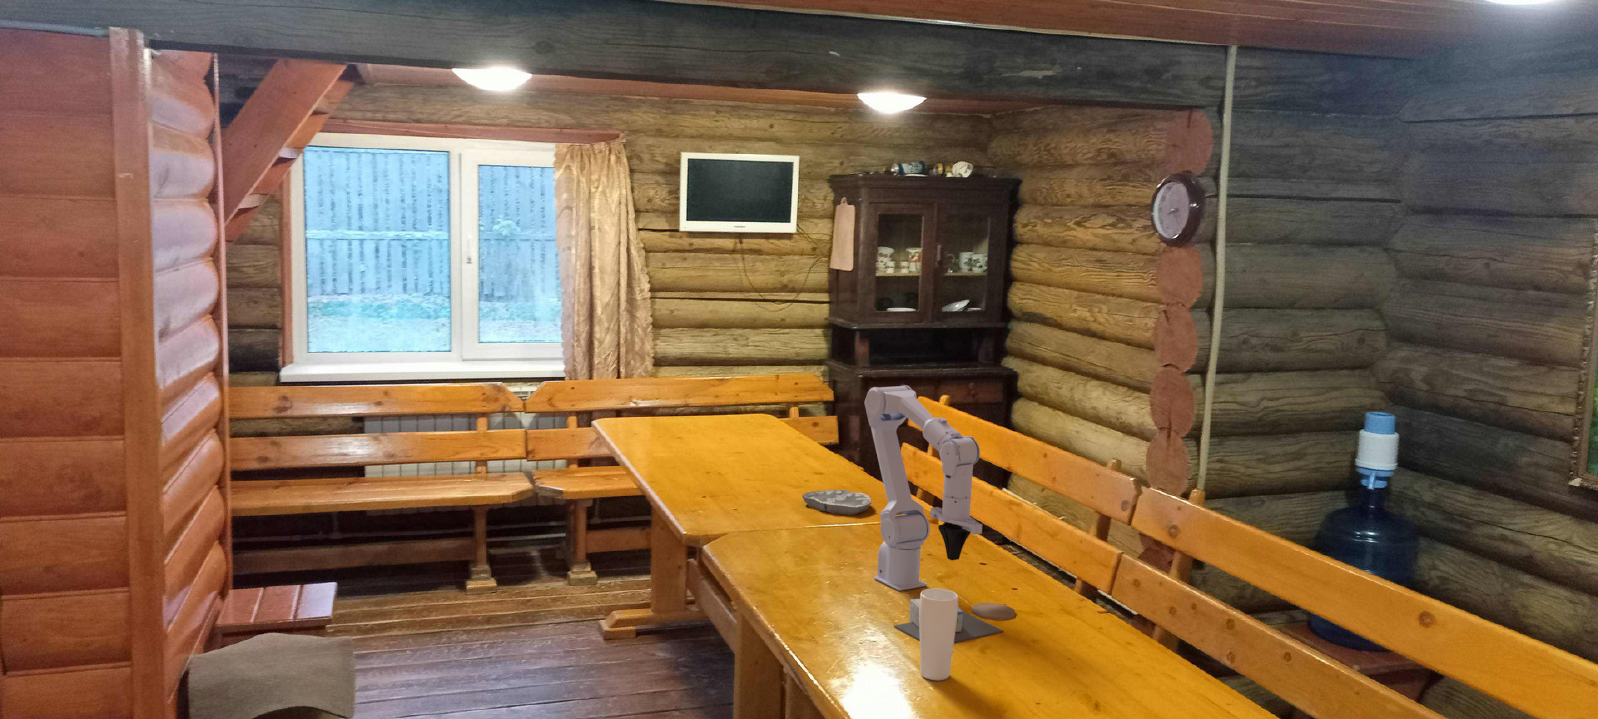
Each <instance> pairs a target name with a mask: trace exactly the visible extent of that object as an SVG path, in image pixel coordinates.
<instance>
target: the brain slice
mask: <svg viewBox="0 0 1598 719" xmlns="http://www.w3.org/2000/svg"><path fill="white" fill-rule="evenodd" d="M801 497H802V499H803V501H804V503H806V505H807V506H808V507H809V508H813V509H815V510H817V511H820V512H827V513H829V514H835V515H837V514H838V515H844V516H846V515H847V516H854V515H857V514H860V513H864V512H866V511H867V510H868V508H869V507H870V505H872V503H873V501H872V499H871V497H870V496H869V495H868V494H865V493H863V492H859V491H858V492H857V491H856V492H852V491H851V490H847V489H827V490H817V491H816V490H815V491H810V492H809V491H808V492H805V493H804V494H802V495H801Z"/></svg>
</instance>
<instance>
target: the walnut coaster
mask: <svg viewBox="0 0 1598 719" xmlns="http://www.w3.org/2000/svg"><path fill="white" fill-rule="evenodd" d="M971 613H972V614H973V615H975V617H978V618H981V619H982V618H983V619H985V620H992V621H993V620H994V621H1006V620H1011V619H1013V618H1015V617H1016V613H1017V612H1016V610H1015V609H1014V608H1013V607H1011V606H1009V605H1006V604H1002V603H996V602H981V603H976V604H973V606H971Z"/></svg>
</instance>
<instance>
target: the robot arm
mask: <svg viewBox="0 0 1598 719" xmlns="http://www.w3.org/2000/svg"><path fill="white" fill-rule="evenodd" d="M864 407H865V411H866V412H865V413H866V416H867V419H868V420H867V421H868V425H869V427H870V428H871V429H870V430H871V435H872V439H873V443H874V448H875V452H876V455H877V460H878V465H879V470H880V475H881V478H882V483H883V486H884V490H885V495H886V499H887V501H886V502H887V505H885V507H884V508H883V509H882V510H881V512H880V514H879V517H880V533H881V534H880V535H881V539H883V542H882V543H881V545H880V546H879V549H878V554H877V555H878V557H877V575H875V576H873V579H874V580H877V581H879V582H880V583H882V584H885V585H887V586H888V587H890V588H893V589H894V590H896V591H906V590H911V589H916V588H922V587H926V586H928V583H927V582H925V581H923V580H920V569H921V568H920V567H921V549H922V546H924V544H925V541H926V540H927V539H928V538H929V536H930V530H931V524H930V521H929V519H928V517H927V516H926V514H925V511H924V507H923V505H921V504H920V503H919V502H918V501H916V500H914V499H913V498H912V494H911V490H910V486H909V481H908V477H907V473H906V469H905V464H904V459H903V455H902V451H901V447H900V442H899V437H898V434H897V429H898V428H899V426H900V425H902V424H903V423H904V421H905V420H906V419H909V421H911V422H912V423H913V424H915V425H916V426H918V427H919V428H920V430H922V436H923V438H924V439H925V441H927V442H928V443H929V444H930V445H931V446H932V447H933V448H934V449H935V450H937V452H938V453H939V458H940V461H941V465H942V469H941V470H942V472H943V475H944V476H943V494H942V508H941V507H938V506H937V507H936V506H935V507H930V512H929V517H930V518H932V519H937V520H938V521H939V522H942V523H943V524H939V525H938V526H937V527H938V531H939V533H940V534H941V536H942V539H943V543H944V547H945V552H946V557H947V559H948V560H950V561H956V560H957V561H958V560H959V559H960V557H961V554H962V551H963V547H964V545H965V542H966V541H967V539H968V538H969V536H970V535H971V534H972V535H974V536H975V535H981V534H982V533H983V524H982V523H980V522H978V521H977V520H975V519H974V518H973V517H972V516H971V501H972V489H973V488H972V486H973V470H974V465H975V464H976V463H978V462H979V460H980V457H981V452H980V451H981V450H980V449H981V448H980V446H979V444H978V442H977V440H976V439H975V438H974V436H971V435H970V436H965V435H962V434H961V432H960V431H958V430H956V429H955V428H954V427H953V426H951V425H950V424H949V423H948V419H946V417H934V416H933V415H932V414H931V413H930V412H929V411H928V409H927V408H926V407H924V406H923V404H922V403H921V402H920V401H919V400H918V398H917V392H916V391H915V390H914V389H912V388H911V387H910V386H909V385H907V384H906V385H905V384H903V385H900V386H899V385H898V386H897V385H896V386H885V387H884V386H883V387H881V386H880V387H876V386H874V387H871V388H870V389H869V390H868V391H867V394H866V397H865V400H864Z"/></svg>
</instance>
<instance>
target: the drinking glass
mask: <svg viewBox="0 0 1598 719" xmlns="http://www.w3.org/2000/svg"><path fill="white" fill-rule="evenodd" d="M919 595H920V596H919V599H920V603H919V634H920V641H919V656H920V659H919V660H920V662H919V672H920V676H922V677H923V678H925V679H927V680H931V681H938V682H939V681H944V680H947V679H948V678H949V677H950V675H951V669H952V668H951V667H952V666H951V665H952V657H953V653H954V652H953V650H954V644H955V643H954V638H955V631H956V624H957V616H958V607H959V595H958V594H957V593H956V592H955V591H952V590H950V589H947V588H937V587H936V588H934V587H933V588H927V589H923V590H922V591H921V592H920V594H919Z"/></svg>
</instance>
